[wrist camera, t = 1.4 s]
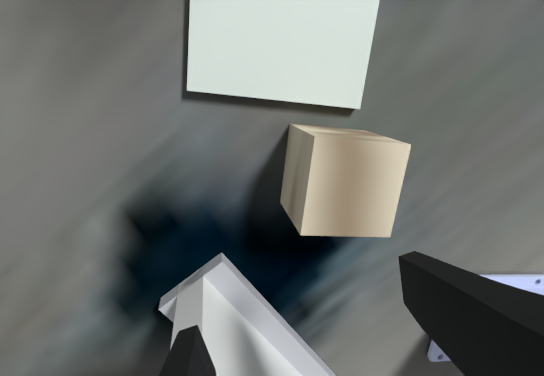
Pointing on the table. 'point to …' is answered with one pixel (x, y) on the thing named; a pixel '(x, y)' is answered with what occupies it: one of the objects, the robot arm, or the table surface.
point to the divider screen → (238, 325)
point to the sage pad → (282, 49)
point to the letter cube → (342, 181)
